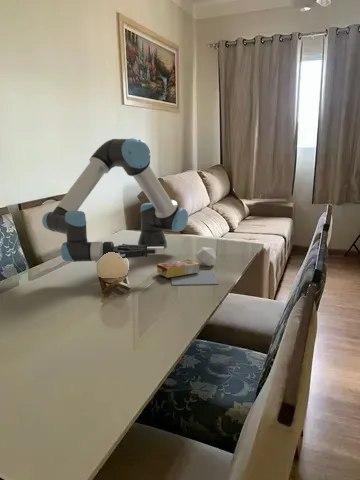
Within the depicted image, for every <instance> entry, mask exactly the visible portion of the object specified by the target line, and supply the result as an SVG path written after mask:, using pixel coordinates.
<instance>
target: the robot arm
mask: <svg viewBox="0 0 360 480" xmlns="http://www.w3.org/2000/svg"><path fill="white" fill-rule="evenodd" d="M150 165H151V151H150V147H149V146H148V144H147V142H145V141H144V140H142V139H139V138H112V139H109V140H107V141H105V142H104V143H103V144H101V145H100V146H99V147H98V148H97V149H96V150H95V151H94V153H93V154H92V155H91V156H90V158H89V163H88V165H87V166H86V167H85V169H83V171H82V172H81V174H80V175H79V177H78V178H77V179H76V181H75V182H74V183H73V184H72V185H71V187H70V189H69V190H68V191H67V193H66V194H65V195H64V197H63V198H62V199H61V200H60V201H59V203H58V205H57V206H56V207H55V208H54V210H52V211H48V212H46V213H45V214H44V215H43V217H42V221H41V223H42V226H43V227H44V228H45V229H46V230H48V231H50V232H56V233H60V234H64V235H66V241H65V242H62V245H61V249H60V250H61V252H60V253H61V258H62V260H63V261H65V262H73V263H77V262H95V263H98V262H99V261H98V260H99V259H100V258H101V257H102V256H103V255H104V254H106V253H108V252H115V253H118V254H119V255H120V256H121V257H122V258H123V259H127V258H140V257H146V258H147V257H148V255H164V254H165V248H167V246H168V241H167V239H166V236H165V232H164V230H167V231H170V232H171V231H172V232H181V231H183V230H184V229H185V228H186V226H187V224H188V221H189V212H188V210H187V209H186V208H184V207H180V206H179V205H178V203H177V201H176V200H174V199H172V198H170V196H169V195H168V193H167V191H166V190H165V189H164V186H163V185H162V183H161V182H160V180H159V178H158V177H157V176H156V174H155V172H154V171H153V169H152V167H151V166H150ZM116 167H119V168H122V169H123V170H124V172H125V173H126V174H127V176H130V177H133V179H134V180H135V181H136V183H137V184H138V186H139V187H140V189H141V190H142V191H143V193H144V194H145V196H146V197H147V199H148V200H149V202H145V203H143V204H141V205H140V212H139V214H140V234H139V238H138V242H137V244H127V243H126V244H125V243H122V244H119V245H116V246H115V243H114V242H113V241H104V242H102V241H88V238H87V237H88V236H87V235H88V234H87V219H86V218H87V217H86V214H85V212H84V211H83V210H82V211H81V210H80V208H81V206H82V205H83V203H84V202H85V201H86V200H87V198H88V197H89V195H90V194H91V193H92V191H93V190H94V189H95V187H96V186H97V184H98V183H99V182H100V181H101V179H102V177H103V176H104V175H105V174H108V173H109V172H110V170H111V169H113V168H116Z"/></svg>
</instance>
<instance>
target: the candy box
mask: <svg viewBox="0 0 360 480" xmlns="http://www.w3.org/2000/svg"><path fill="white" fill-rule="evenodd" d="M199 271H200V265H199V262H196V261H193V260H191V259H184V260H177V261H171V262H164V263H157V264H156V273H157V274H158V275H161V276H163V277H164V278H171V277H175V276H181V275H187V274H194V273H199Z"/></svg>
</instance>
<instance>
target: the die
mask: <svg viewBox="0 0 360 480" xmlns="http://www.w3.org/2000/svg"><path fill="white" fill-rule="evenodd" d="M195 256H196V259H197V263H199V266H203V267H204V266H205V267H211V266H212V265H213V264H214V263H215V261H216V260H217V255H216V253H215V249H214V248H213V247H206V246H201V248H200V249H199V250H198V252H197V253H196V254H195Z"/></svg>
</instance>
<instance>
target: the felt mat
mask: <svg viewBox="0 0 360 480" xmlns="http://www.w3.org/2000/svg"><path fill="white" fill-rule="evenodd" d="M170 282H171V286H215V285H216V286H218V285H219V282H218V279H217V277H216V274H215V272H214V270H213V269H210V270H209V269H207V270H202V269H199V273H194V274H187V275H181V276H175V277H170Z"/></svg>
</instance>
